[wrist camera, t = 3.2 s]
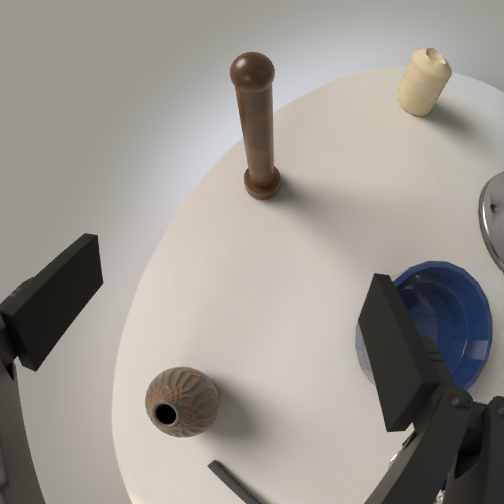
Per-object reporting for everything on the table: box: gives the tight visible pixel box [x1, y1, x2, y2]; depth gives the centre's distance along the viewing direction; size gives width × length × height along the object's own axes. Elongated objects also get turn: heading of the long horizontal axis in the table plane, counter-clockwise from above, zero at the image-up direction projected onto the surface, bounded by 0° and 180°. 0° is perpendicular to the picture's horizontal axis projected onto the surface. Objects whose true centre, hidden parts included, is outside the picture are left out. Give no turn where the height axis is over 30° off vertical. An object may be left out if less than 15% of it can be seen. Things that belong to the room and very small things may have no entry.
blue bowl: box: [356, 261, 492, 391], centre depth 28 cm, size 14×14×6 cm
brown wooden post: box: [230, 52, 280, 199], centre depth 27 cm, size 4×4×19 cm
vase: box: [145, 367, 220, 437], centre depth 27 cm, size 7×7×9 cm
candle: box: [397, 48, 452, 116], centre depth 33 cm, size 6×6×10 cm
